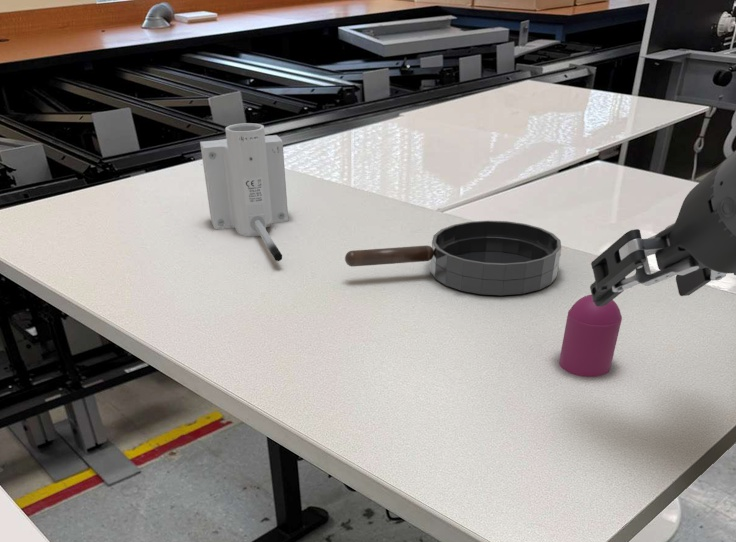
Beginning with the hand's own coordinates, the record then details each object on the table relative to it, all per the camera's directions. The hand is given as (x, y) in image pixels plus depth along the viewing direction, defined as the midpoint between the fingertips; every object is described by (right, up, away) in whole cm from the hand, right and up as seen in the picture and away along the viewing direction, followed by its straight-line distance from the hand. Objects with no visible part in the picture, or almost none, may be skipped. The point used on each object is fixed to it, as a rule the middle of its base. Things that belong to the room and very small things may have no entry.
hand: (638, 291), depth 66 cm
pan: (-7, +13, +33) cm, 36 cm away
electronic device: (-41, +21, +44) cm, 64 cm away
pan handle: (-22, +13, +30) cm, 39 cm away
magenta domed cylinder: (-1, -5, +12) cm, 13 cm away
